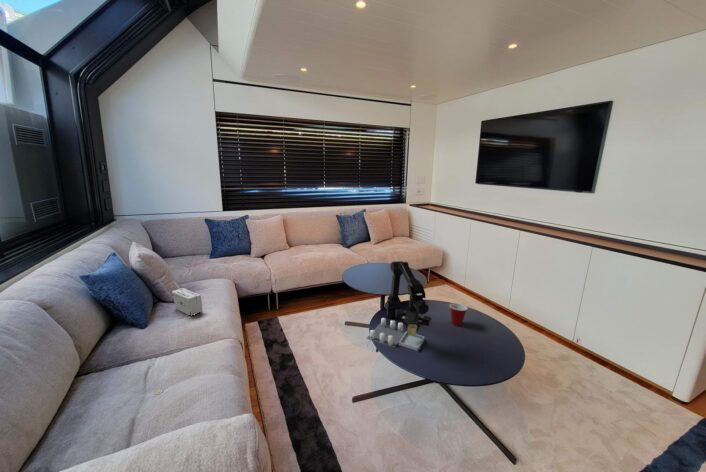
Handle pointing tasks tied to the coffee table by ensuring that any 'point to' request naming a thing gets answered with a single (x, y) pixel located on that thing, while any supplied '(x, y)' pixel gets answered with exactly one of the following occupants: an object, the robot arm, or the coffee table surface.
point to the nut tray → (411, 341)
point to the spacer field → (387, 333)
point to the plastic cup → (457, 313)
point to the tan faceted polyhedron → (412, 329)
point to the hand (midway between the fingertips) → (412, 331)
